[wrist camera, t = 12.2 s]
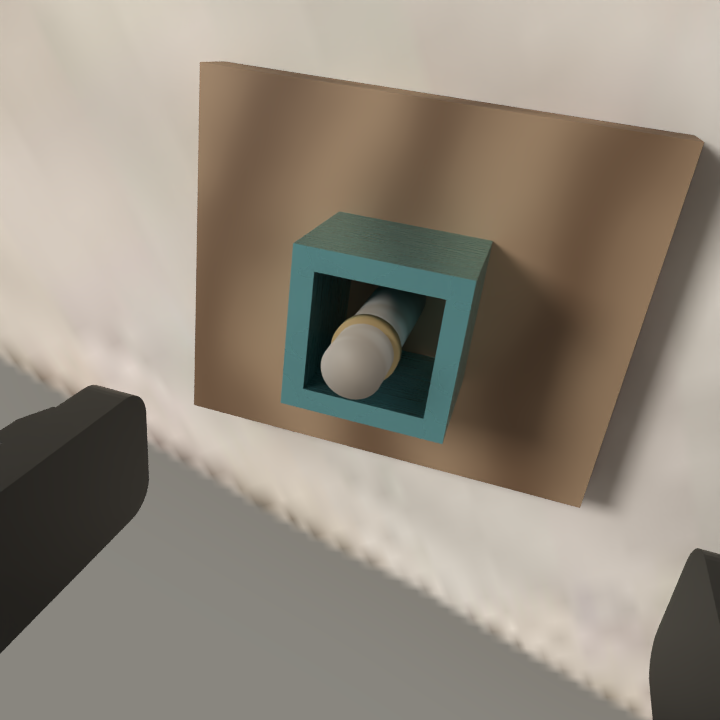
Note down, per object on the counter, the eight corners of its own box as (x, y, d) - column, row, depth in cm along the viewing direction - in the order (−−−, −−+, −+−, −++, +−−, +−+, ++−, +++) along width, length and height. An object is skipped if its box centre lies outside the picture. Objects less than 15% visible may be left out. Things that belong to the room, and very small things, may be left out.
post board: (694, 135, 24) (757, 176, 16) (579, 481, 30) (582, 632, 22) (224, 61, 27) (81, 64, 19) (213, 386, 34) (105, 488, 26)
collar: (492, 240, 25) (476, 280, 21) (462, 382, 28) (442, 444, 23) (339, 211, 26) (293, 243, 22) (324, 349, 29) (280, 402, 24)
